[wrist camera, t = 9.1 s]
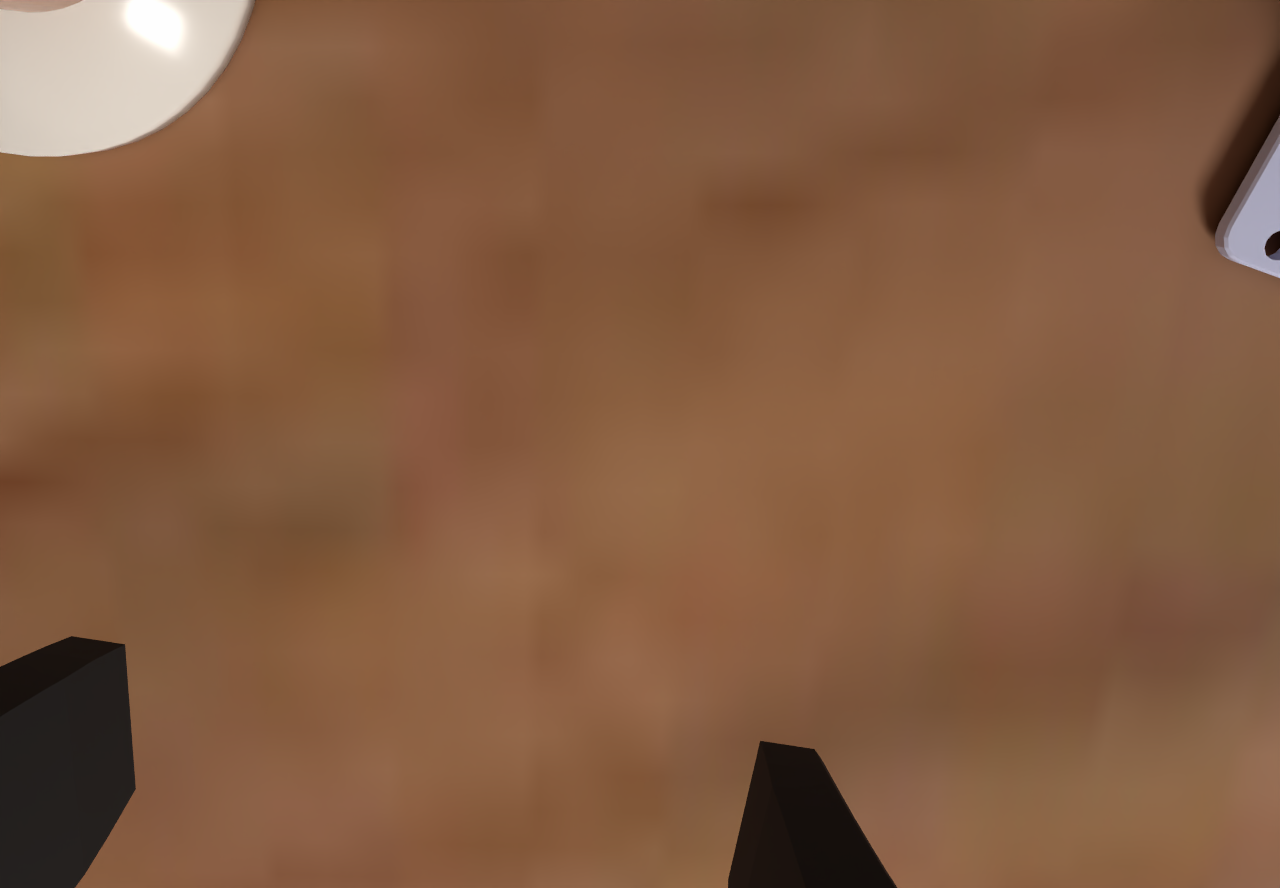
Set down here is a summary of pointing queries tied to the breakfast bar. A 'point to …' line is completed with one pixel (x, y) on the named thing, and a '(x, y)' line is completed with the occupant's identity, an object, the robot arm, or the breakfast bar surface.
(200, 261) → the breakfast bar surface
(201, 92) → the coaster
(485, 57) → the breakfast bar surface
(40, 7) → the flower pot
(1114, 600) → the breakfast bar surface
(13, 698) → the robot arm
